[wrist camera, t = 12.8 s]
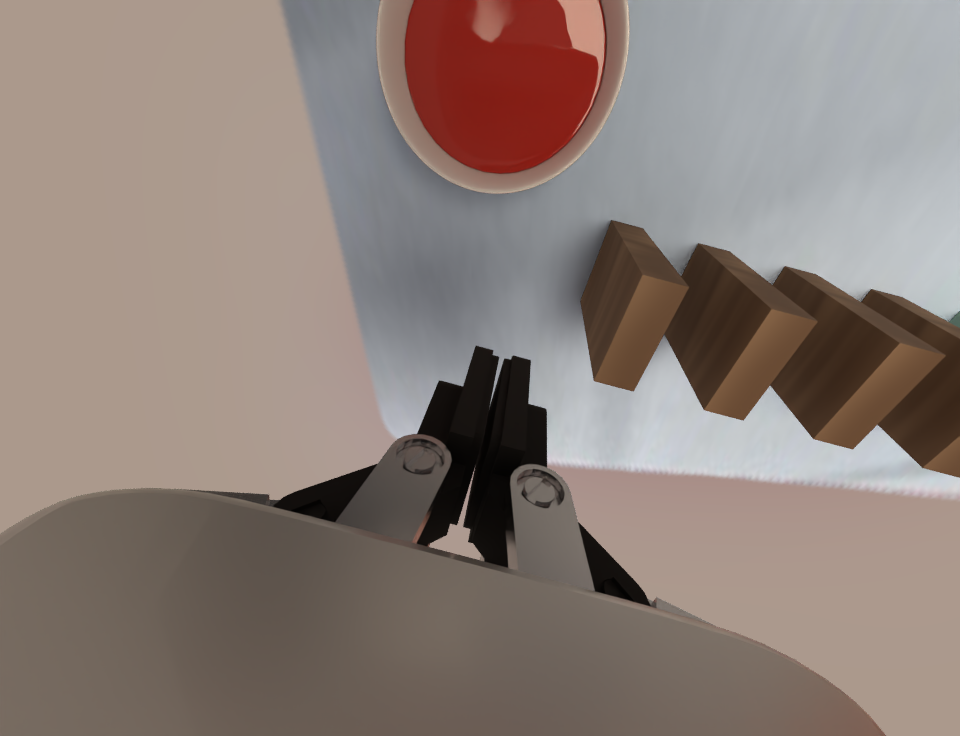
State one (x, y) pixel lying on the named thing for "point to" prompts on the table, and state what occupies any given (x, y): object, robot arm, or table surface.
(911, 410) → the domino
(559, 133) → the candle
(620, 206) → the table surface
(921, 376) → the domino
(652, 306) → the domino
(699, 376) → the domino
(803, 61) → the table surface
